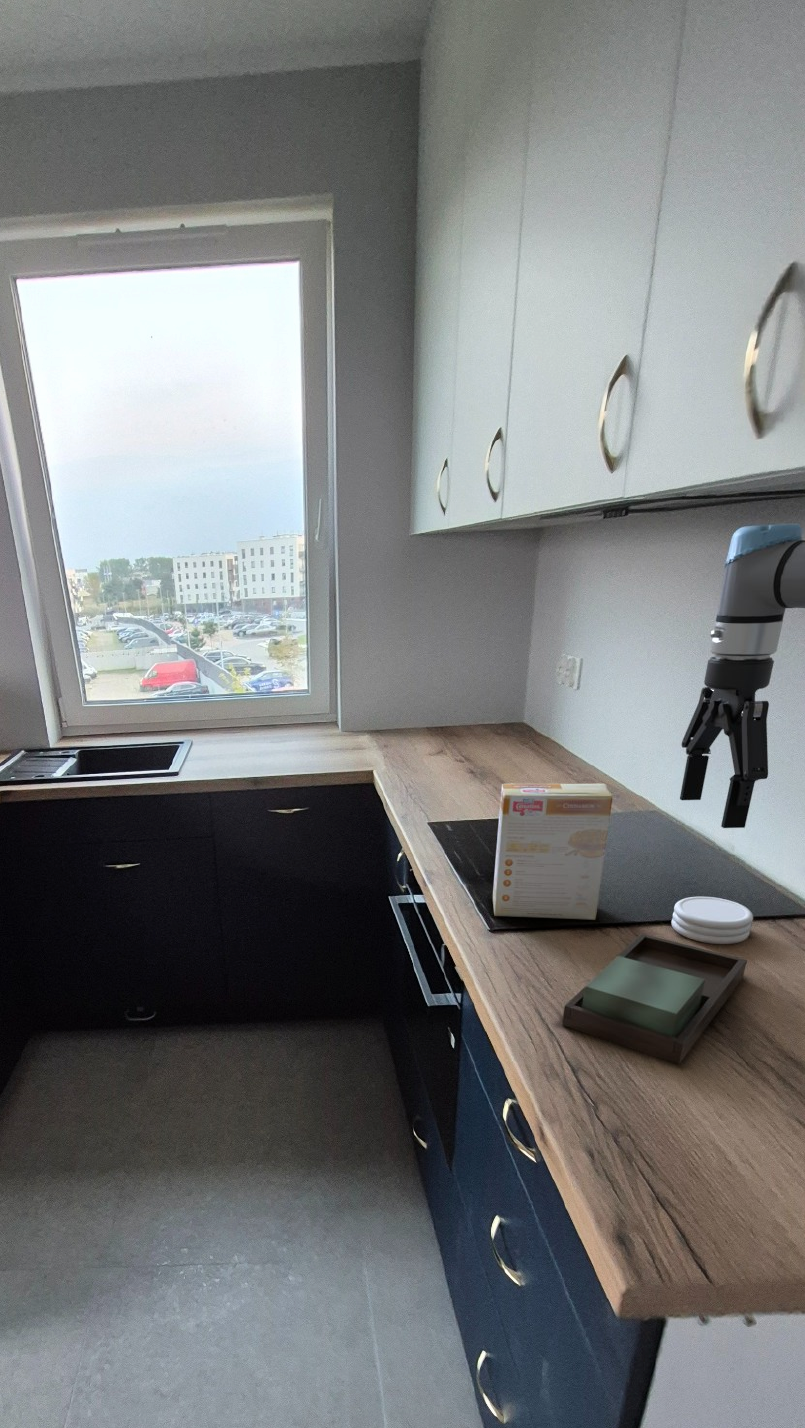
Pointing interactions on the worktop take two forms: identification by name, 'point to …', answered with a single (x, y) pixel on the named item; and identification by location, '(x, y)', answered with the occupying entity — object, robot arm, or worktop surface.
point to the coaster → (712, 920)
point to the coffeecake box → (551, 850)
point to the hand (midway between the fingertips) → (710, 812)
